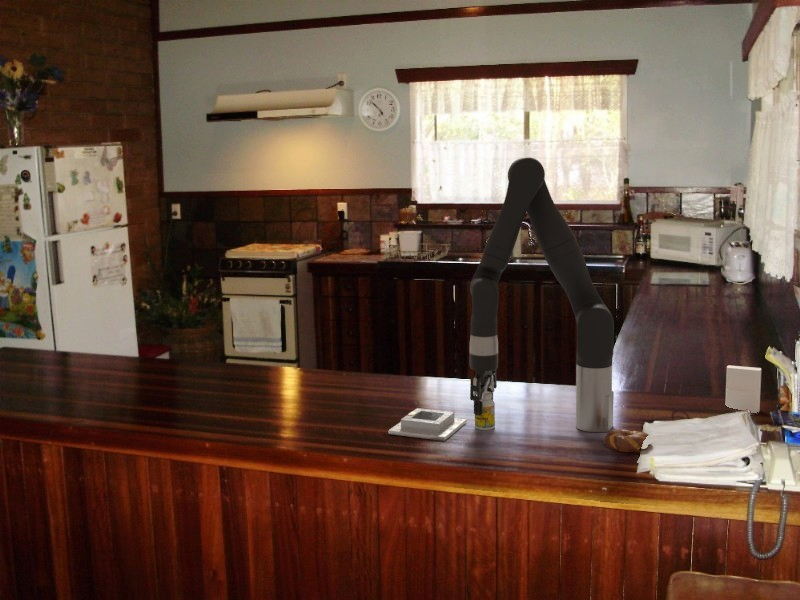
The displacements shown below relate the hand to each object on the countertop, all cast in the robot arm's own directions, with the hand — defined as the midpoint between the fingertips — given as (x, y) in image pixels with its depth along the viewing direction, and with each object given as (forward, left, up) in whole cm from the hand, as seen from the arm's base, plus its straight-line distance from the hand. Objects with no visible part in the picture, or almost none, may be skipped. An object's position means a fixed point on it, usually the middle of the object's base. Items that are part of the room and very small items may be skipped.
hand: (483, 410), depth 240 cm
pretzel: (-38, +1, -5) cm, 39 cm away
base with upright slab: (-62, -40, -5) cm, 74 cm away
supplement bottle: (0, 0, -5) cm, 5 cm away
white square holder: (+14, +6, -5) cm, 16 cm away
